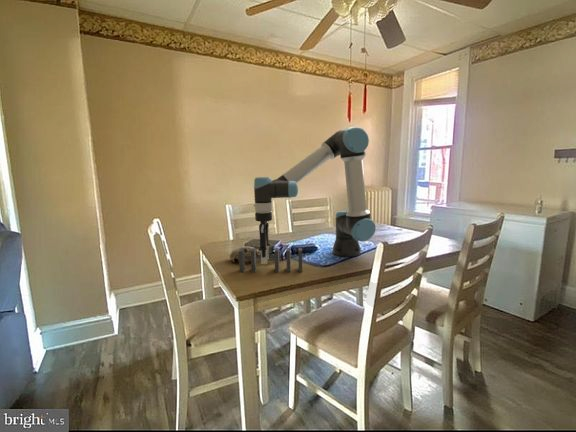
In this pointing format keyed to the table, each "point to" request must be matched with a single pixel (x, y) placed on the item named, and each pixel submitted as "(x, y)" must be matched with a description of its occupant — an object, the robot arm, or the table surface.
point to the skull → (247, 252)
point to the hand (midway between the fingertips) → (265, 261)
